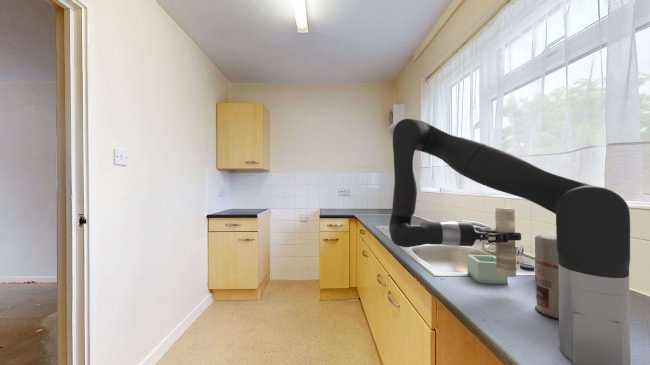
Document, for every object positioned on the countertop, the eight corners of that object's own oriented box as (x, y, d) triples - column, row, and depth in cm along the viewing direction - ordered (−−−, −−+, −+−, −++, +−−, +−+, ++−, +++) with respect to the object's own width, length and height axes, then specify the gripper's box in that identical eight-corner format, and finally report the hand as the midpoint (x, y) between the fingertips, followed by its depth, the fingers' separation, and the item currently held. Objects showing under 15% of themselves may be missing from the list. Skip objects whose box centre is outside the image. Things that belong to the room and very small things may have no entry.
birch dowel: (515, 278, 72) (514, 209, 72) (495, 274, 75) (494, 208, 75) (516, 273, 75) (514, 208, 76) (497, 270, 78) (496, 207, 79)
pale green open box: (507, 284, 82) (507, 263, 82) (478, 282, 84) (478, 262, 84) (493, 274, 91) (493, 255, 91) (467, 273, 93) (467, 254, 93)
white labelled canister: (531, 303, 69) (531, 232, 70) (571, 310, 65) (571, 235, 65) (538, 317, 62) (538, 237, 62) (584, 326, 58) (583, 241, 58)
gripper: (463, 225, 71) (530, 226, 68) (447, 218, 85) (501, 219, 82) (464, 251, 71) (530, 253, 68) (447, 240, 85) (502, 241, 82)
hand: (514, 234), depth 75 cm, fingers closed on birch dowel, 4 cm apart
